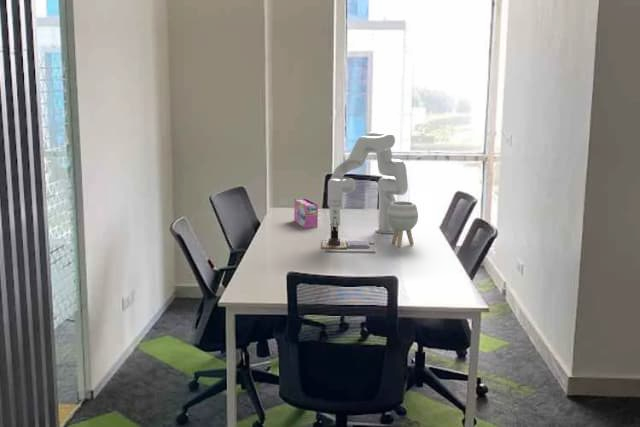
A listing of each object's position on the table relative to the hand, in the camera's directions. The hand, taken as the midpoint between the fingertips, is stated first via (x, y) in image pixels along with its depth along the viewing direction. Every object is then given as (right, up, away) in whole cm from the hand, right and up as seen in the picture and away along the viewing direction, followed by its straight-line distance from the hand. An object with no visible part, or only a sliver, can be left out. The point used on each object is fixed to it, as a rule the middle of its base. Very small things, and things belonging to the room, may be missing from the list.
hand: (334, 236), depth 366 cm
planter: (+36, -5, +4) cm, 36 cm away
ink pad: (+12, -5, +1) cm, 13 cm away
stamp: (0, -4, +1) cm, 4 cm away
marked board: (0, -5, +1) cm, 5 cm away
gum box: (-16, +6, +55) cm, 57 cm away
